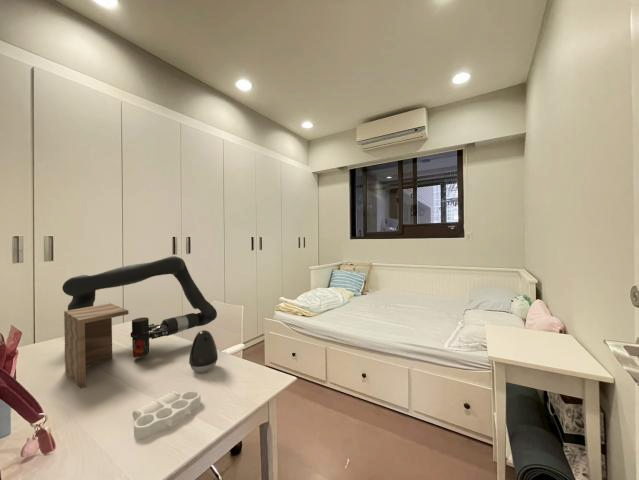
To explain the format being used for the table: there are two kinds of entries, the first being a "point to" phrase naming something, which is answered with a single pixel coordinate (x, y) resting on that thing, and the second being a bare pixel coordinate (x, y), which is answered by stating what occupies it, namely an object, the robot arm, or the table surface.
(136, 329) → the deodorant
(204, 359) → the black rounded cone
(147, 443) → the table surface
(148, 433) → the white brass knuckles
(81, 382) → the wooden stand
